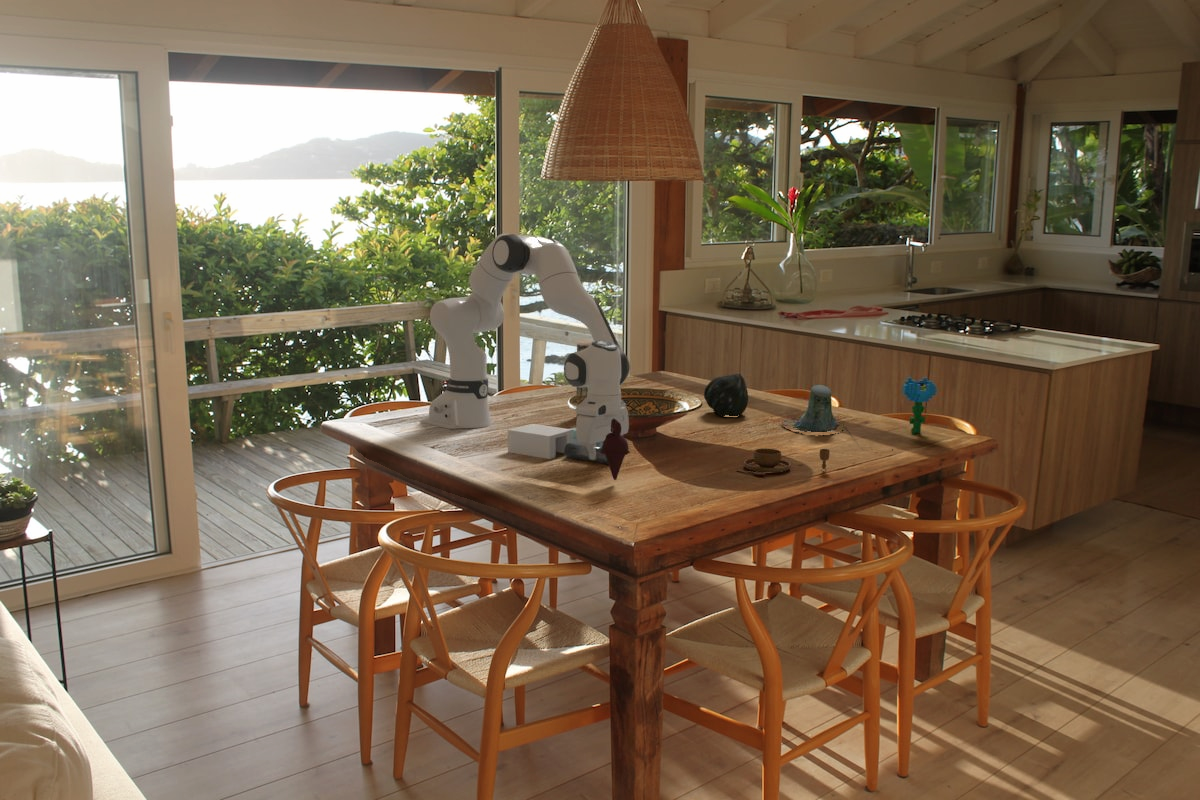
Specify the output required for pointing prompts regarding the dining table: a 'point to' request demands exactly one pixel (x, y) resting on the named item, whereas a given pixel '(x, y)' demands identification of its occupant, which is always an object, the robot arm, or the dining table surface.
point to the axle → (583, 453)
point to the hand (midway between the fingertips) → (603, 455)
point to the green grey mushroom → (817, 412)
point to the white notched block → (538, 440)
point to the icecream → (615, 448)
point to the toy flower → (918, 399)
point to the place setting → (774, 461)
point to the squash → (727, 395)
